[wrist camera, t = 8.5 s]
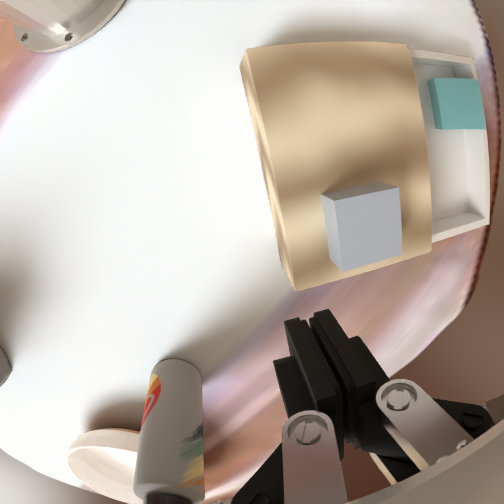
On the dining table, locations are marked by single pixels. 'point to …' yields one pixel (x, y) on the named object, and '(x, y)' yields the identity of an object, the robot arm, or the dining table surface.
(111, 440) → the bowl
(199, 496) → the lotion bottle
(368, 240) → the slate tile
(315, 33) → the dining table surface
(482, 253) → the dining table surface
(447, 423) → the robot arm
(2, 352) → the coffeepot
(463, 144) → the box
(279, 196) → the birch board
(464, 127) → the teal tile
